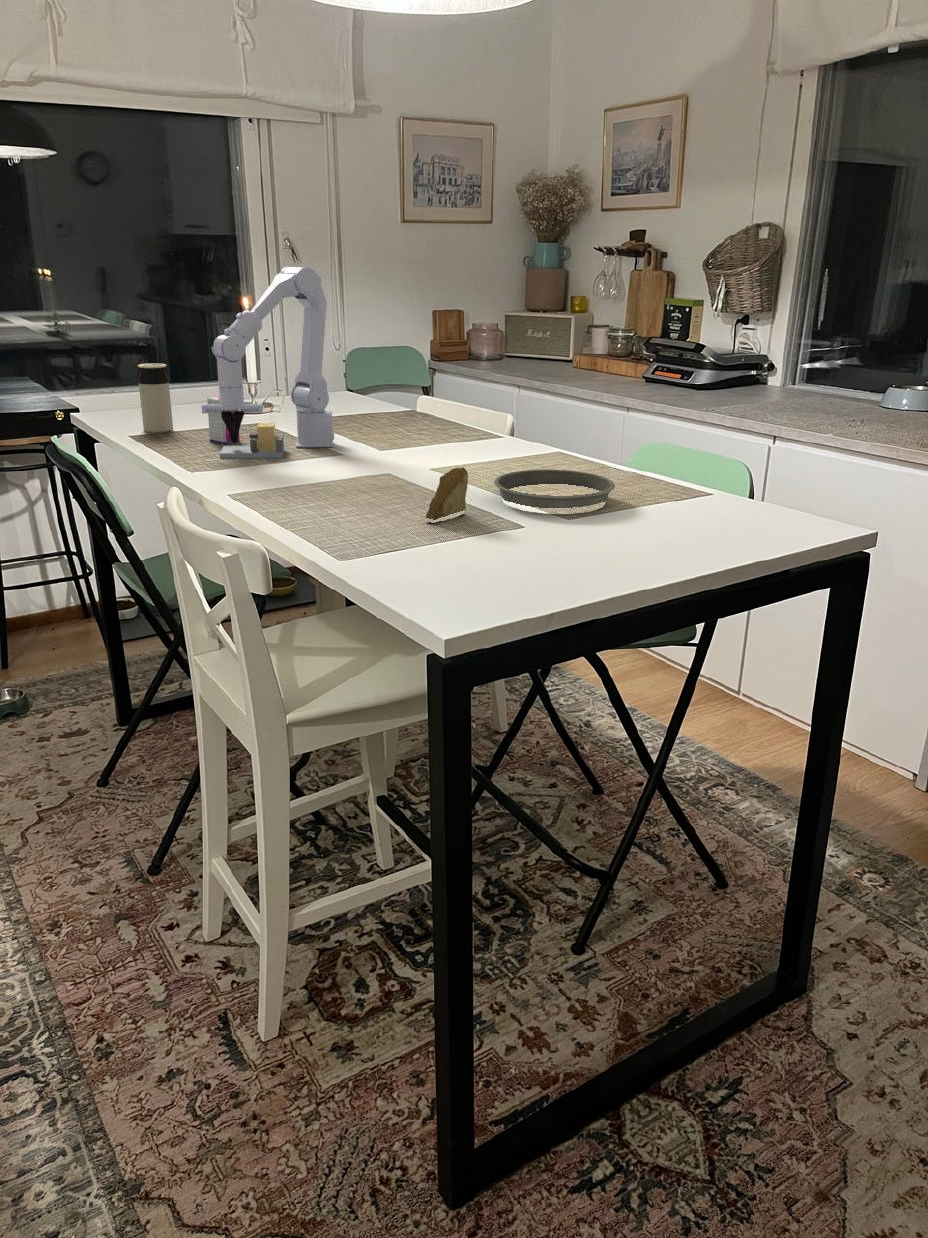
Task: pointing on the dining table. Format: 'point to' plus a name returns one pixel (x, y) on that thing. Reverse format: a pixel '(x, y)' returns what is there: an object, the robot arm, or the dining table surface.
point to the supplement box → (218, 425)
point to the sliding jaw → (254, 441)
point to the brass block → (266, 436)
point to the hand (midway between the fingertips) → (234, 442)
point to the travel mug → (155, 398)
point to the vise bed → (247, 453)
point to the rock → (449, 494)
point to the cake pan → (553, 477)
